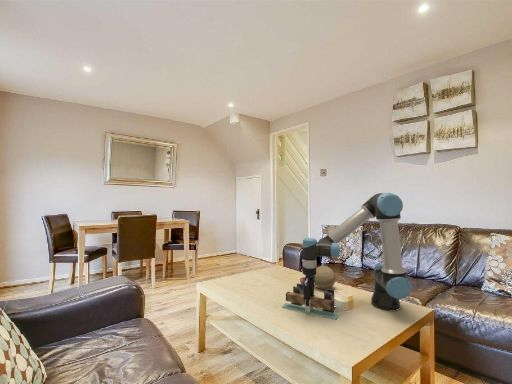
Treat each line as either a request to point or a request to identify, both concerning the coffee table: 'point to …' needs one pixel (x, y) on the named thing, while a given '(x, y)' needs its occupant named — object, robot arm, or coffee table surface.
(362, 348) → the coffee table surface
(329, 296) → the post
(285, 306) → the mat
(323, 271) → the decorative ball
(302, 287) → the post
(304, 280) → the mug
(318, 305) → the rail
